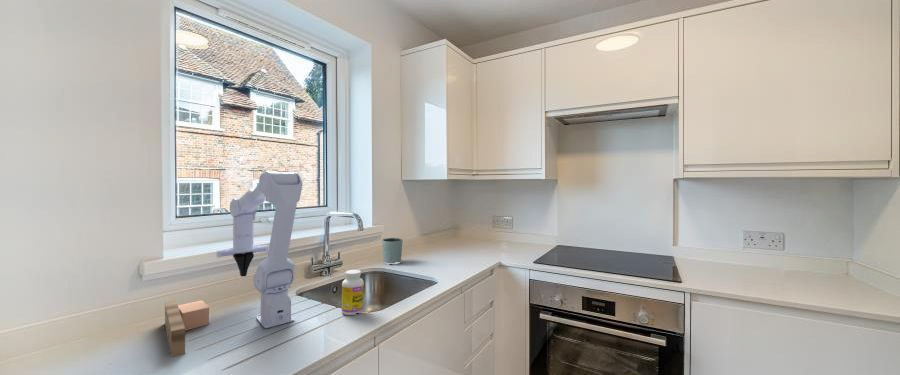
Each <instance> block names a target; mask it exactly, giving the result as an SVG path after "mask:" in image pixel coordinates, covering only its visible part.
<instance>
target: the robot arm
mask: <svg viewBox="0 0 900 375" xmlns="http://www.w3.org/2000/svg"><path fill="white" fill-rule="evenodd" d="M303 184H304V183H303V181H302V178H301V176H300V174H299V173H298V172H296V171H293V172H292V171H291V172H290V171H288V172H287V171H268V170H265V171H263V172H262V173H261V174H260V175H259V178H258V184H257V185H256V186H255V187H254V188H251V187H250V188H248V189H247V191H245V193H244V194H243V195H241V197H239V198H232V199H231V201H230V202H229V213H230V215H231V216H232V219H233V220H232V228H233V229H232V232H233V233H232V236H233V237H232V246H233V247H232V248H225V249H219V250H218V249H217V250H216V258H222V257H230V256H232V257H233V259H234V260H235V262H236V264H237V266H238V267H237V268H238V270H239V275H240V277H242V278H243V277H247V274H248V270H249V267H250V264H251V262H252V261H253V259H254V256H255V253H262V252H266V253H267V256H266V258H264V259H263V260H261V262H259V263H258V264H257V268H256V270H255V273H254V274H253V279H252V280H253V281H252V282H253V286H254V288H255V290H257V292H259V293H260V315H257V316H256V320H257V321H258V322H259V324H260V326H262V327H263V328H264V329H268V328H273V327H276V326H280V325H284V324H287V323H292V322H294V321H295V318H294V317H293V316H292V299H291V298H290V296H289V289H290V288H291V285H292V284H293V283H294V281H295V279H296V272H295V267H296V265H295V263H294V262H293V260H292V259H290V258H288V256H289V248H290V243H291V239H292V233H293V228H294V221H295V216H296V210H297V204H298V203H299V202H300V200H301V195H302V189H303ZM265 199H266V201H267V202H268V203H269V204H270V205H274V206H275V209H274V210H275V211H274V217H273V222H272V227H271V228H272V229H271V233H270V240H269V245H267V244H265V245H264V244H263V245H254V222H255V221H256V214H257V211H258V208H259V207H260V206H261V205H262V204H263V203H264V202H265Z"/></svg>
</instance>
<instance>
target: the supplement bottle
mask: <svg viewBox="0 0 900 375" xmlns="http://www.w3.org/2000/svg"><path fill="white" fill-rule="evenodd" d="M344 274H345V279H344V280H343V281H342V282H341V313H342V314H343V315H345V316H356V315H357V314H356V313H359V314H361V313H363V310H364V298H365V297H364V291H365V289H364V286H365V282H364V280H363V278H361V275H362V272H361V270H360V269H350V270H349V269H348V270H346V271H345V273H344Z"/></svg>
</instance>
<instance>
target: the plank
mask: <svg viewBox="0 0 900 375" xmlns="http://www.w3.org/2000/svg"><path fill="white" fill-rule="evenodd" d="M178 305H179V304H178V302H177V300H174V301H173V300H172V301H168V302H164V326H165V331H166V335H167V341H168V346H169V350H170V352H169V353H170V355H171V356H170V357H171V358H174V357H176V356H181V355H184V354H186V330H185V326H184V323H183V320H182V317H181V314H180V311H179V308H178Z"/></svg>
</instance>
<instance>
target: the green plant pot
mask: <svg viewBox="0 0 900 375" xmlns="http://www.w3.org/2000/svg"><path fill="white" fill-rule="evenodd" d="M403 240H404V239H402V238H400V237H387V238H386V237H385V238H383V239H382V240H381V242H382V244H381V245H382V254H383V263H384V262H386V263H395V262H400V261H401V262H402V253H403Z"/></svg>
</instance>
